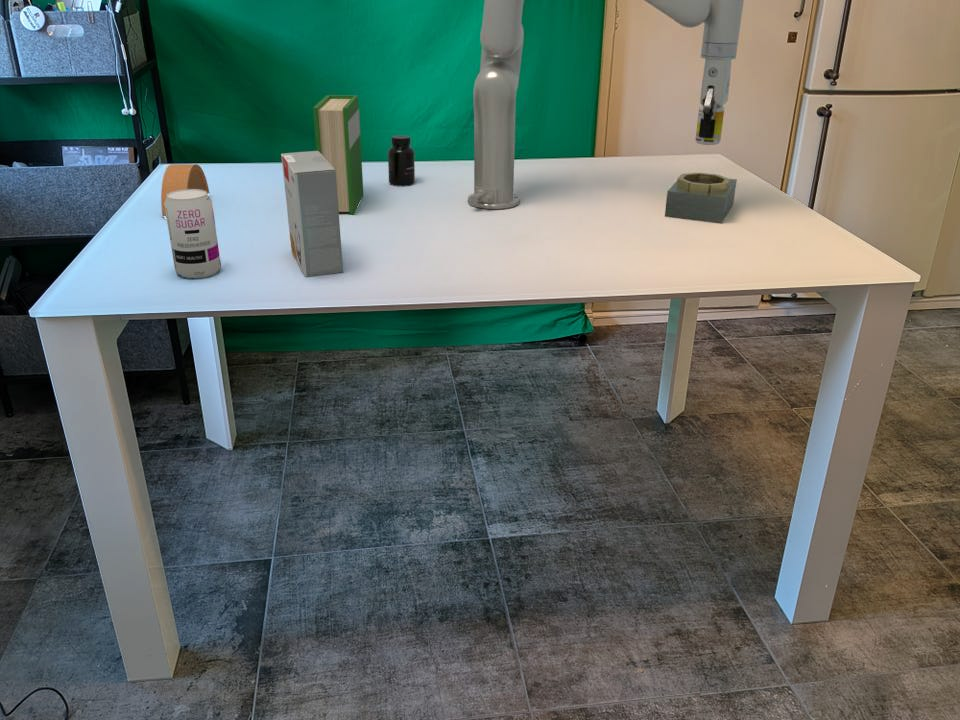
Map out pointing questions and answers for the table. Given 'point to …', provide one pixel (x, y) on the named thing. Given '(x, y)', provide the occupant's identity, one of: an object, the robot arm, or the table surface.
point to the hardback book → (341, 145)
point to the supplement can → (192, 233)
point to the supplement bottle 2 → (717, 130)
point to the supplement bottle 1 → (401, 161)
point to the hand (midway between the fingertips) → (708, 134)
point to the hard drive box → (313, 212)
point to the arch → (182, 180)
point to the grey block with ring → (700, 197)
